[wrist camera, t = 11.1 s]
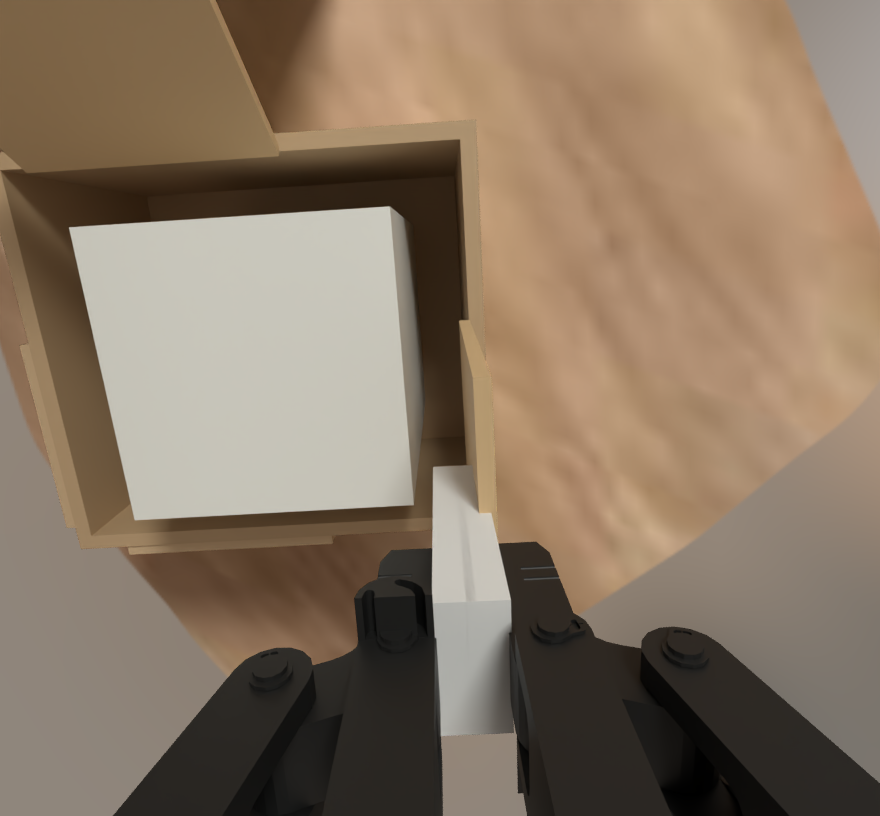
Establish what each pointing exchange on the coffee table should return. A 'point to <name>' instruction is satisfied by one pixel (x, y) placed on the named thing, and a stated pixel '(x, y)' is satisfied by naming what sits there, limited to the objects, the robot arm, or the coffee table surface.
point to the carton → (251, 336)
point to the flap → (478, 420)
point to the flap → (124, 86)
